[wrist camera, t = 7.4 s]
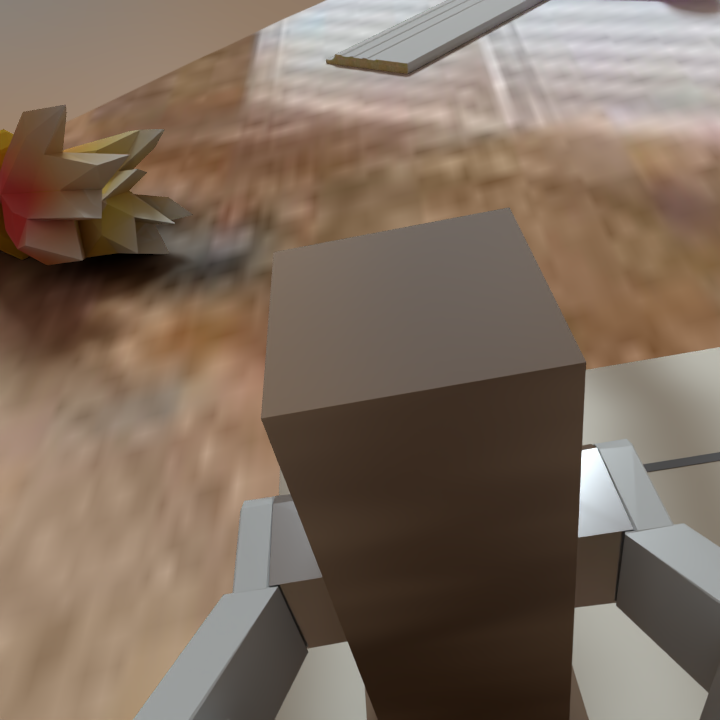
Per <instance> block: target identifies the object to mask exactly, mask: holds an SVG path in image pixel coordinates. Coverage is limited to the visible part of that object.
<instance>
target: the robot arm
mask: <svg viewBox="0 0 720 720" xmlns="http://www.w3.org/2000/svg"><path fill="white" fill-rule="evenodd" d="M610 603H616V606H617V607H618V608H619V609H620V610H621V611H622V612H623V613H624V614H625V615H626V616H627V617H629V618H630V619H631V620H632V621H633V622H634V623H635V624H636V625H637V626H638V627H639V628H640V629H641V630H642V631H643V632H644V633H645V634H647V635H648V636H649V637H650V638H651V639H652V640H653V641H654V642H655V643H656V644H657V645H658V646H659V647H660V648H661V649H662V650H663V651H665V652H666V653H667V654H668V655H669V656H670V657H671V658H672V659H673V660H674V661H675V662H676V663H677V664H678V665H679V666H680V667H681V668H683V669H684V670H685V671H686V672H687V673H688V674H689V675H690V676H691V677H692V678H693V679H694V680H695V681H696V682H697V683H698V684H699V685H701V686H702V687H703V688H704V689H705V690H706V691H707V692H708V693H709V694H708V696H707V699H706V702H705V705H704V708H703V711H702V714H701V716H700V719H699V720H720V547H719V546H717V545H716V544H714V543H713V542H711V541H710V540H708V539H707V538H705V537H704V536H702V535H701V534H699V533H698V532H696V531H695V530H693V529H692V528H690V527H689V526H687V525H686V524H684V523H682V524H673V522H672V520H671V518H670V516H669V514H668V512H667V510H666V508H665V506H664V505H663V503H662V501H661V499H660V497H659V495H658V493H657V491H656V489H655V487H654V485H653V483H652V481H651V479H650V477H649V475H648V473H647V471H646V469H645V468H644V466H643V464H642V462H641V460H640V458H639V456H638V454H637V452H636V450H635V448H634V446H633V444H632V443H631V442H630V441H629V440H628V439H621V440H615V441H609V442H603V443H597V444H593V445H592V444H587V445H582V461H581V482H580V504H579V525H578V547H577V568H576V590H575V608H577V607H585V606H594V605H602V604H610ZM342 642H347V639H346V636H345V634H344V631H343V629H342V626H341V623H340V621H339V618H338V616H337V613H336V611H335V608H334V605H333V603H332V600H331V598H330V595H329V592H328V590H327V587H326V585H325V582H324V580H323V577H322V574H321V572H320V569H319V567H318V564H317V561H316V559H315V556H314V554H313V551H312V549H311V546H310V543H309V541H308V538H307V536H306V533H305V530H304V528H303V525H302V523H301V520H300V518H299V515H298V512H297V510H296V507H295V505H294V502H293V499H292V497H291V494H287V495H280V496H274V497H268V498H261V499H254V500H248V501H244V503H243V506H242V508H241V511H240V521H239V531H238V542H237V552H236V562H235V573H234V583H233V593H230V594H225V595H223V596H222V597H221V599H220V600H219V602H218V603H217V604H216V606H215V607H214V608H213V610H212V611H211V613H210V614H209V615H208V617H207V618H206V620H205V621H204V622H203V624H202V625H201V626H200V628H199V629H198V631H197V632H196V633H195V635H194V636H193V638H192V639H191V640H190V642H189V643H188V644H187V646H186V647H185V649H184V650H183V651H182V653H181V654H180V656H179V657H178V658H177V660H176V661H175V662H174V664H173V665H172V667H171V668H170V669H169V671H168V672H167V674H166V675H165V676H164V678H163V679H162V680H161V682H160V683H159V685H158V686H157V687H156V689H155V690H154V692H153V693H152V694H151V696H150V697H149V698H148V700H147V701H146V703H145V704H144V705H143V707H142V708H141V709H140V711H139V712H138V714H137V715H136V716H135V718H134V719H133V720H275V718H276V716H277V714H278V712H279V710H280V708H281V706H282V704H283V702H284V700H285V698H286V696H287V694H288V692H289V690H290V688H291V686H292V684H293V682H294V680H295V678H296V676H297V674H298V672H299V670H300V668H301V666H302V664H303V662H304V660H305V658H306V656H307V654H308V650H307V649H308V648H314V647H319V646H325V645H331V644H336V643H342Z"/></svg>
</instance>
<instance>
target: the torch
mask: <svg viewBox="0 0 720 720" xmlns="http://www.w3.org/2000/svg"><path fill="white" fill-rule="evenodd" d="M65 123H66V105H61V106H55V107H50V108H43V109H37V110H32V111H26V112H23V113H22V116H21V118H20V120H19V123H18V125H17V128H16V130H15V133H14V134H12V133H10V132H8V131H6V130H4V129H3V130H1V131H0V250H1V251H3V252H5V253H8V254H10V255H12V256H14V257H16V258H19V259H21V260H23V259H26V258H28V257H29V256H31V257H32V258H34V259H36V260H38V261H40V262H41V263H43V264H45V265H53V264H60V263H67V262H74V261H81V260H83V259H85V258H86V257H93V256H101V255H108V254H115V253H134V254H167V253H169V251H168V249H167V247H166V245H165V243H164V241H163V240H162V238H161V236H160V234H159V232H158V230H157V228H156V226H155V224H175V223H174V222H172V221H171V220H174V219H178V218H182V217H186V216H190V215H193V214H191V213H190V212H189V211H187V210H186V209H184V208H183V207H181V206H180V205H179V204H177V203H176V202H174V201H173V200H171V199H170V198H169V197H159V196H147V195H136V194H133V193H132V192H130V191H129V190H130V189H131V188H132V187H133V186H134V185H135V184H136V183H137V182H138V181H139V180H140V179H141V178H142V177H143V176H144V175H145V174H146V173H147V172H145V171H142V170H139V169H134V168H135V167H136V166H137V165H138V164H139V163H140V162H141V161H142V160H143V159H144V158H145V157H146V156H147V155H148V154H149V153H150V152H151V151H152V150H153V149H154V148H155V146H156V144H157V143H158V141H159V139H160V137H161V135H162V134H163V132H164V130H163V129H153V130H136V131H129V132H126V133H122V134H119V135H115V136H112V137H108V138H105V139H101V140H98V141H94V142H91V143H87V144H83V145H80V146H76V147H73V148H69V149H66V150H63V143H64V133H65Z"/></svg>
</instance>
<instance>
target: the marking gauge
mask: <svg viewBox="0 0 720 720" xmlns="http://www.w3.org/2000/svg"><path fill="white" fill-rule="evenodd" d="M585 375H586V361H585V359H584V357H583V355H582V353H581V351H580V349H579V347H578V345H577V343H576V341H575V339H574V337H573V335H572V333H571V331H570V329H569V327H568V325H567V323H566V321H565V319H564V317H563V315H562V313H561V310H560V308H559V306H558V304H557V302H556V300H555V298H554V296H553V294H552V292H551V290H550V288H549V286H548V284H547V282H546V280H545V278H544V276H543V274H542V272H541V270H540V268H539V266H538V264H537V262H536V260H535V258H534V256H533V254H532V252H531V250H530V248H529V246H528V244H527V242H526V240H525V238H524V236H523V234H522V232H521V230H520V228H519V226H518V224H517V222H516V220H515V218H514V216H513V214H512V212H511V210H510V208H504V209H499V210H494V211H489V212H483V213H478V214H473V215H468V216H462V217H457V218H452V219H446V220H441V221H436V222H431V223H425V224H420V225H415V226H410V227H404V228H399V229H394V230H388V231H383V232H378V233H373V234H367V235H362V236H357V237H352V238H346V239H341V240H336V241H331V242H325V243H320V244H315V245H309V246H304V247H299V248H294V249H288V250H283V251H278V252H274V254H273V267H272V281H271V294H270V307H269V320H268V334H267V347H266V360H265V373H264V387H263V400H262V413H261V419H262V422H263V425H264V427H265V430H266V432H267V435H268V437H269V440H270V443H271V445H272V448H273V450H274V453H275V456H276V458H277V461H278V463H279V466H280V468H281V471H282V474H283V476H284V479H285V481H286V484H287V487H288V489H289V492H290V494H291V497H292V499H293V502H294V505H295V507H296V510H297V512H298V515H299V518H300V520H301V523H302V525H303V528H304V530H305V533H306V536H307V538H308V541H309V543H310V546H311V549H312V551H313V554H314V556H315V559H316V561H317V564H318V567H319V569H320V572H321V574H322V577H323V580H324V582H325V585H326V587H327V590H328V592H329V595H330V598H331V600H332V603H333V605H334V608H335V611H336V613H337V616H338V618H339V621H340V623H341V626H342V629H343V631H344V634H345V636H346V639H347V642H348V644H349V647H350V649H351V652H352V654H353V657H354V660H355V662H356V665H357V667H358V670H359V673H360V675H361V678H362V680H363V683H364V685H365V700H366V715H367V720H589V718H588V715H587V712H586V708H585V705H584V702H583V699H582V695H581V692H580V689H579V686H578V682H577V679H576V676H575V672H574V669H573V666H572V654H573V633H574V611H575V590H576V568H577V547H578V525H579V504H580V482H581V461H582V439H583V418H584V397H585Z"/></svg>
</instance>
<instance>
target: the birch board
mask: <svg viewBox="0 0 720 720" xmlns="http://www.w3.org/2000/svg"><path fill="white" fill-rule="evenodd" d="M621 439H628V440H629V441H630V442H631V443H632V444H633V446H634V448H635V450H636V452H637V454H638V456H639V458H640V460H641V462H642V464H643V466H644V468H645V469H646V471H647V473H648V475H649V477H650V479H651V481H652V483H653V485H654V487H655V489H656V491H657V493H658V495H659V497H660V499H661V501H662V503H663V505H664V506H665V508H666V510H667V512H668V514H669V516H670V518H671V520H672V522H673V524H682V523H684V524H686V525H687V526H689V527H690V528H692V529H693V530H695V531H696V532H698V533H699V534H701V535H702V536H704V537H705V538H707V539H708V540H710V541H711V542H713V543H714V544H716V545H717V546H719V547H720V347H719V348H713V349H707V350H701V351H695V352H689V353H683V354H678V355H672V356H666V357H660V358H654V359H648V360H642V361H636V362H630V363H625V364H619V365H613V366H607V367H601V368H595V369H589V370H586V375H585V397H584V418H583V439H582V445H587V444H592V445H593V444H597V443H603V442H609V441H615V440H621ZM287 494H290V492H289V489H288V487H287V484H286V481H285V479H284V476H283V474H282V471H281V468H280V484H279V496H280V495H287ZM307 650H308V654H307V656H306V658H305V660H304V662H303V664H302V666H301V668H300V670H299V672H298V674H297V676H296V678H295V680H294V682H293V684H292V686H291V688H290V690H289V692H288V694H287V696H286V698H285V700H284V702H283V704H282V706H281V708H280V710H279V712H278V714H277V716H276V718H275V720H367V715H366V700H365V685H364V683H363V680H362V678H361V675H360V673H359V670H358V667H357V665H356V662H355V660H354V657H353V654H352V652H351V649H350V647H349V644H348V642H342V643H336V644H331V645H325V646H319V647H314V648H308V649H307ZM572 666H573V669H574V672H575V676H576V679H577V682H578V686H579V689H580V692H581V695H582V699H583V702H584V705H585V708H586V712H587V715H588V718H589V720H699V719H700V716H701V714H702V711H703V708H704V705H705V702H706V699H707V696H708V694H709V693H708V692H707V691H706V690H705V689H704V688H703V687H702V686H701V685H699V684H698V683H697V682H696V681H695V680H694V679H693V678H692V677H691V676H690V675H689V674H688V673H687V672H686V671H685V670H684V669H683V668H681V667H680V666H679V665H678V664H677V663H676V662H675V661H674V660H673V659H672V658H671V657H670V656H669V655H668V654H667V653H666V652H665V651H663V650H662V649H661V648H660V647H659V646H658V645H657V644H656V643H655V642H654V641H653V640H652V639H651V638H650V637H649V636H648V635H647V634H645V633H644V632H643V631H642V630H641V629H640V628H639V627H638V626H637V625H636V624H635V623H634V622H633V621H632V620H631V619H630V618H629V617H627V616H626V615H625V614H624V613H623V612H622V611H621V610H620V609H619V608H618V607H617V606H616V603H610V604H602V605H594V606H585V607H577V608H575V611H574V633H573V654H572Z"/></svg>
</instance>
